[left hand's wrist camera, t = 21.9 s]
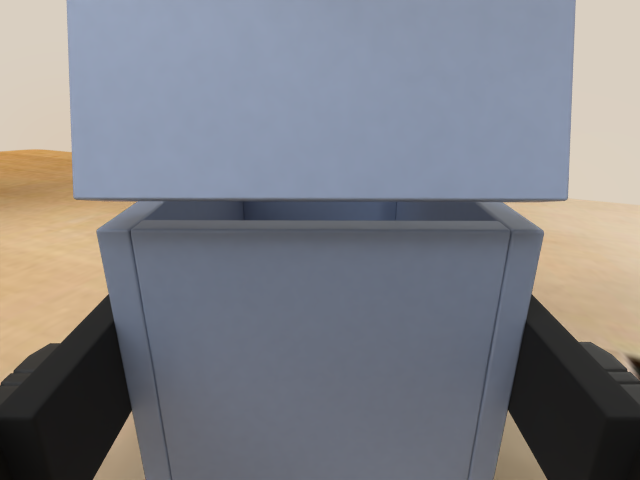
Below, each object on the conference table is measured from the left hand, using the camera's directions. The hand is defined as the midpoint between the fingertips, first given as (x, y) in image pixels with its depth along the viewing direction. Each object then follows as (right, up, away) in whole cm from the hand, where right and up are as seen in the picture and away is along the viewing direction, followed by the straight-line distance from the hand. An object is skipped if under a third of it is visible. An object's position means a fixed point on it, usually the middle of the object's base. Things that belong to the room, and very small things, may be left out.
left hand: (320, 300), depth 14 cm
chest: (0, -4, +6) cm, 7 cm away
